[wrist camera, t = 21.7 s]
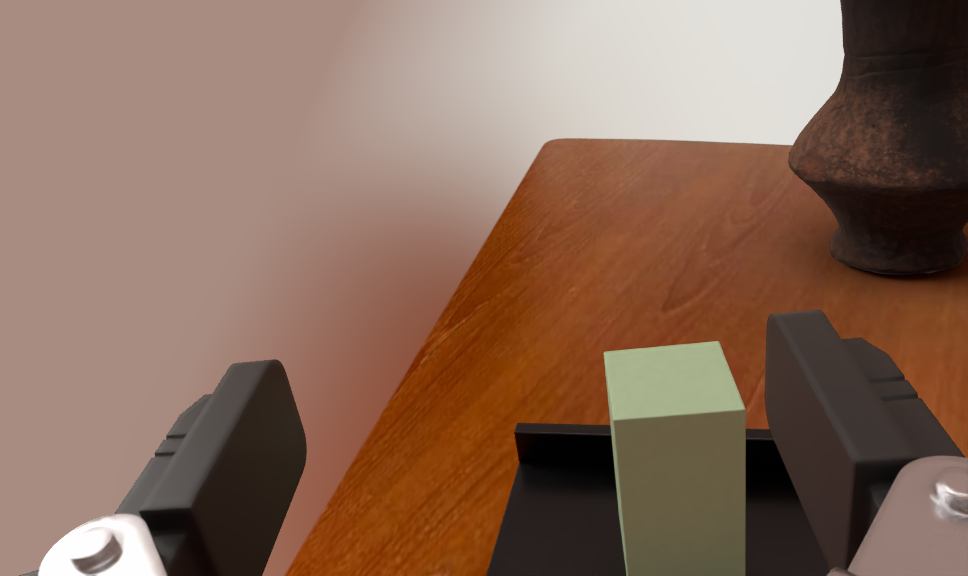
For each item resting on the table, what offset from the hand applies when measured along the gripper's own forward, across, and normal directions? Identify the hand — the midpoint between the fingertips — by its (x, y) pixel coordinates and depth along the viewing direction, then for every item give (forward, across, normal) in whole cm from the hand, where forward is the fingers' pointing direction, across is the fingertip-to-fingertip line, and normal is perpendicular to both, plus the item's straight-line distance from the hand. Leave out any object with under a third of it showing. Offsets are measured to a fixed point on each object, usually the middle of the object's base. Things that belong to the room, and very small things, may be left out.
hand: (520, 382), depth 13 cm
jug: (+55, -31, +27) cm, 69 cm away
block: (+14, -4, +19) cm, 24 cm away
